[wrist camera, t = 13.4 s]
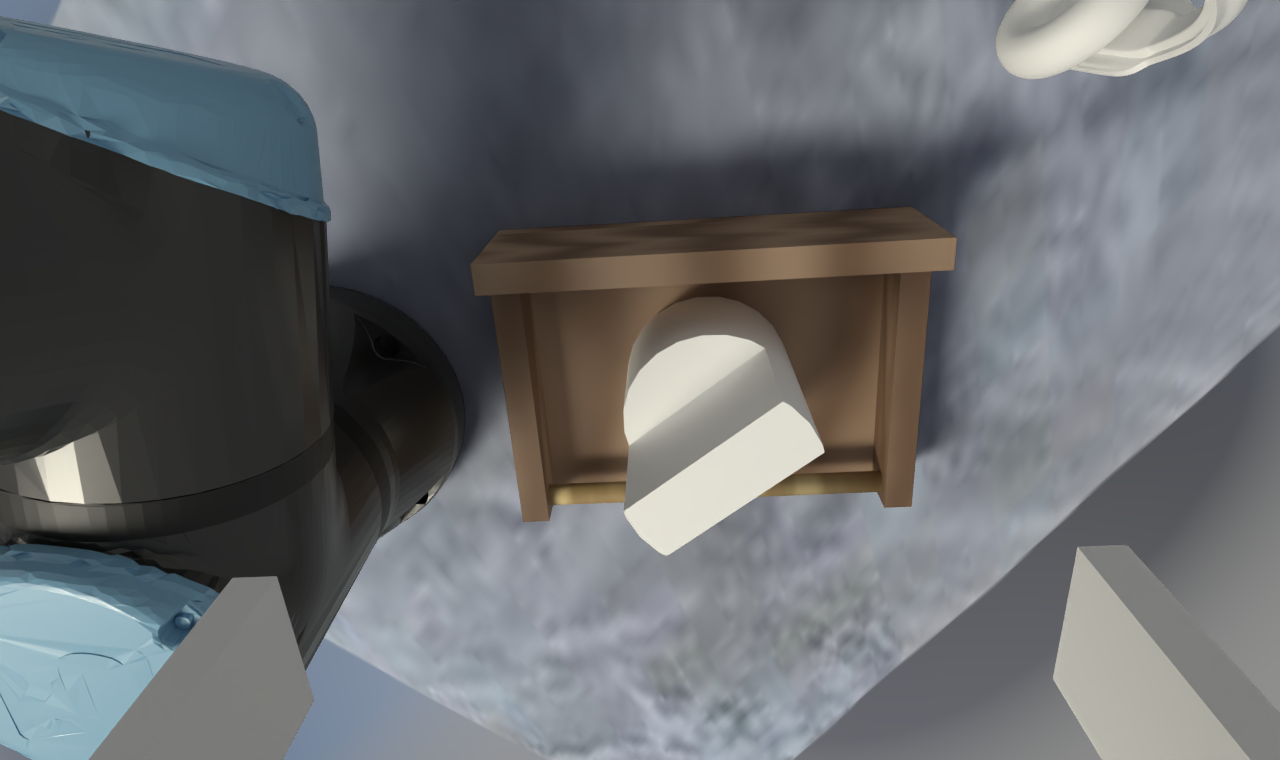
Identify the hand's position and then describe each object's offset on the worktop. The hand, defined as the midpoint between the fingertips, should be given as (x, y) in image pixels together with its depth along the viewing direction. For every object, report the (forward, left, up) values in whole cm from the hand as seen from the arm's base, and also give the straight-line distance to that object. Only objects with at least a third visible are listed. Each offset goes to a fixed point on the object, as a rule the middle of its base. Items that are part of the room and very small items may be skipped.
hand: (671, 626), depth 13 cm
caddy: (+2, -8, -32) cm, 33 cm away
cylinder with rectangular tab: (+2, -9, -31) cm, 32 cm away
